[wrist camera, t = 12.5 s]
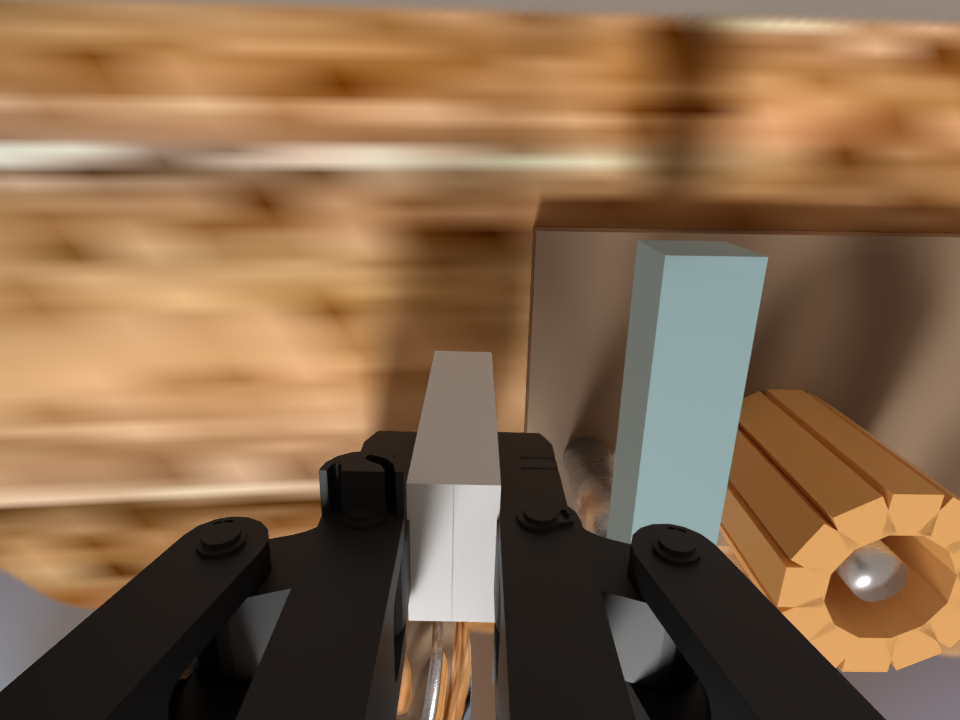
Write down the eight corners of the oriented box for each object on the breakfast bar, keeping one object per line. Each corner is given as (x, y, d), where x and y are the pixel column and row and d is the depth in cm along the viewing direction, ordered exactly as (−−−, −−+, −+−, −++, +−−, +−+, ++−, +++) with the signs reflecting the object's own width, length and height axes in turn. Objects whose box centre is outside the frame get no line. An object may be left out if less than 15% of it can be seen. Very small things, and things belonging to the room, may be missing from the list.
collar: (682, 525, 30) (762, 670, 22) (703, 388, 28) (803, 493, 19) (829, 526, 30) (965, 672, 22) (864, 390, 28) (1033, 495, 19)
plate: (519, 526, 32) (521, 543, 31) (533, 226, 27) (536, 230, 25) (1065, 532, 32) (1092, 549, 31) (1187, 236, 27) (1227, 241, 26)
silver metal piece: (560, 479, 29) (596, 617, 21) (563, 436, 29) (601, 561, 20) (784, 482, 30) (911, 620, 21) (793, 439, 29) (930, 564, 20)
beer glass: (319, 481, 31) (188, 757, 17) (438, 432, 30) (405, 680, 16) (381, 579, 33) (310, 896, 19) (493, 536, 32) (507, 836, 18)
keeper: (676, 634, 21) (702, 696, 18) (585, 633, 21) (599, 696, 18) (740, 241, 16) (785, 257, 14) (623, 239, 16) (647, 255, 14)
